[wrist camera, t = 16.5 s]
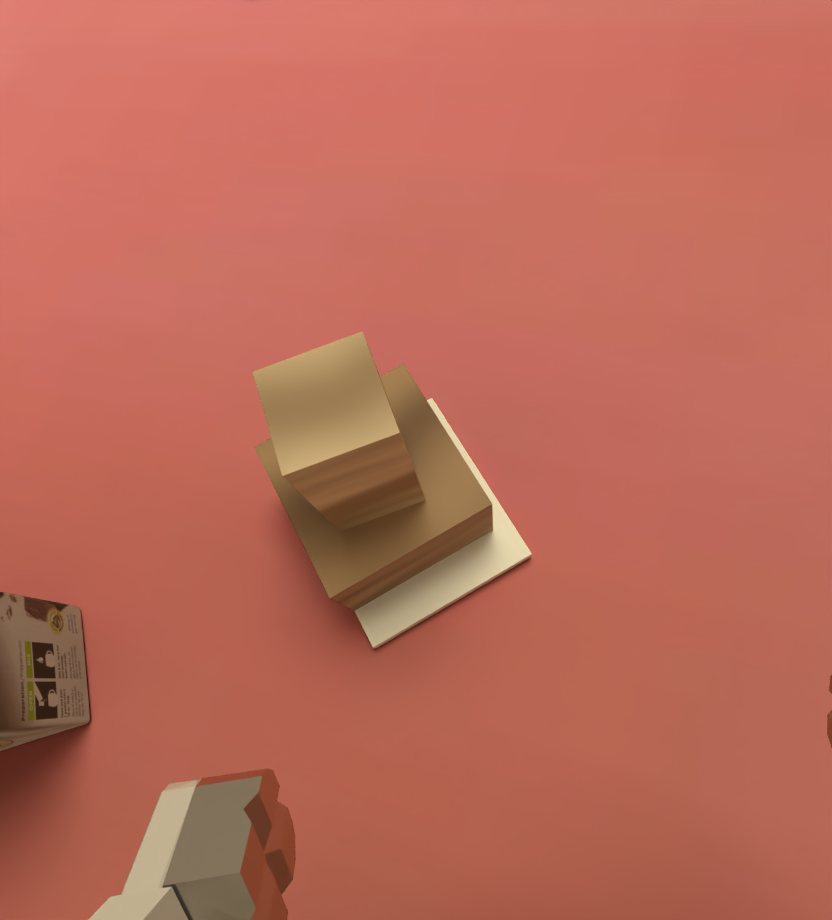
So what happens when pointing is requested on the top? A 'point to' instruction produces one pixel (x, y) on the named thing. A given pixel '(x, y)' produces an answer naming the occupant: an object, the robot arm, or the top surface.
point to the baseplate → (446, 571)
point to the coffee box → (40, 669)
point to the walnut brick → (401, 532)
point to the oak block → (338, 433)
